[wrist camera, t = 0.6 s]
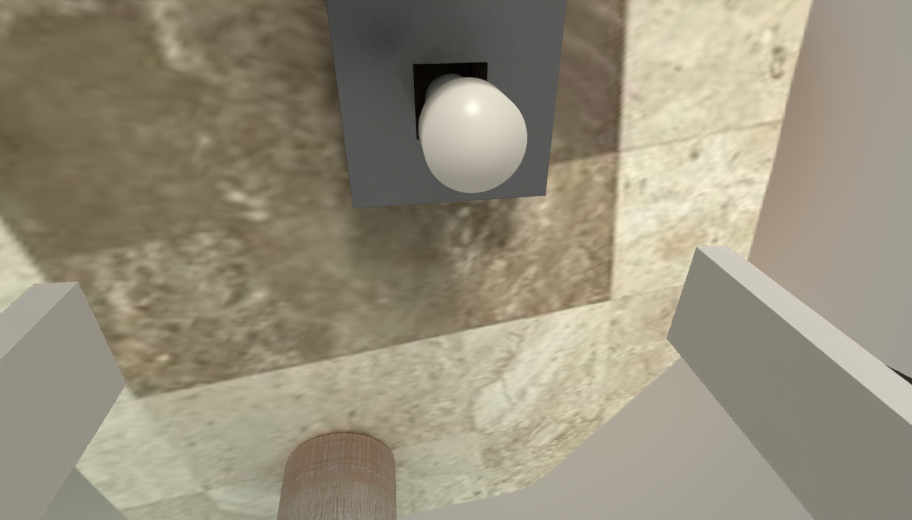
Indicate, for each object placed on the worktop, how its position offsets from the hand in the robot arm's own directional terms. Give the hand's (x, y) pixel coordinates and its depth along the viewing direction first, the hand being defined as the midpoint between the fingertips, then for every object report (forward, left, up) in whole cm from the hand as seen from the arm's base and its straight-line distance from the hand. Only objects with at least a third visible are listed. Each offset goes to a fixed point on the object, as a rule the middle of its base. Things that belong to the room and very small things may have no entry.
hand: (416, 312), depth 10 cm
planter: (+37, -8, -23) cm, 44 cm away
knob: (0, +3, -18) cm, 19 cm away
